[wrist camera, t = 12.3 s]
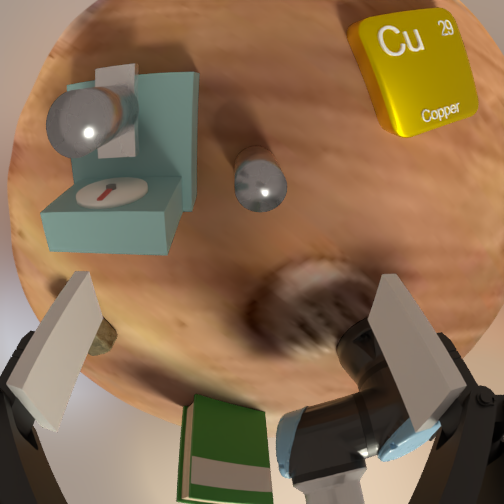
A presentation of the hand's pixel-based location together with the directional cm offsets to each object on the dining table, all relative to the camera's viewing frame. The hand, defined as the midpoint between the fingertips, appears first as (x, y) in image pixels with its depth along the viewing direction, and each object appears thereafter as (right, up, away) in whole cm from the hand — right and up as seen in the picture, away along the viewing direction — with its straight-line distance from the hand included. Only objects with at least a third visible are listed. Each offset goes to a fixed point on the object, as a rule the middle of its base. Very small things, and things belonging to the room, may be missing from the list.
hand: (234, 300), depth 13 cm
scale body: (-13, +16, +20) cm, 28 cm away
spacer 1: (-12, +15, +11) cm, 22 cm away
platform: (-12, +16, +13) cm, 24 cm away
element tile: (+21, +25, +16) cm, 37 cm away
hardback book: (-6, -35, +51) cm, 62 cm away
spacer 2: (+1, +12, +23) cm, 26 cm away
